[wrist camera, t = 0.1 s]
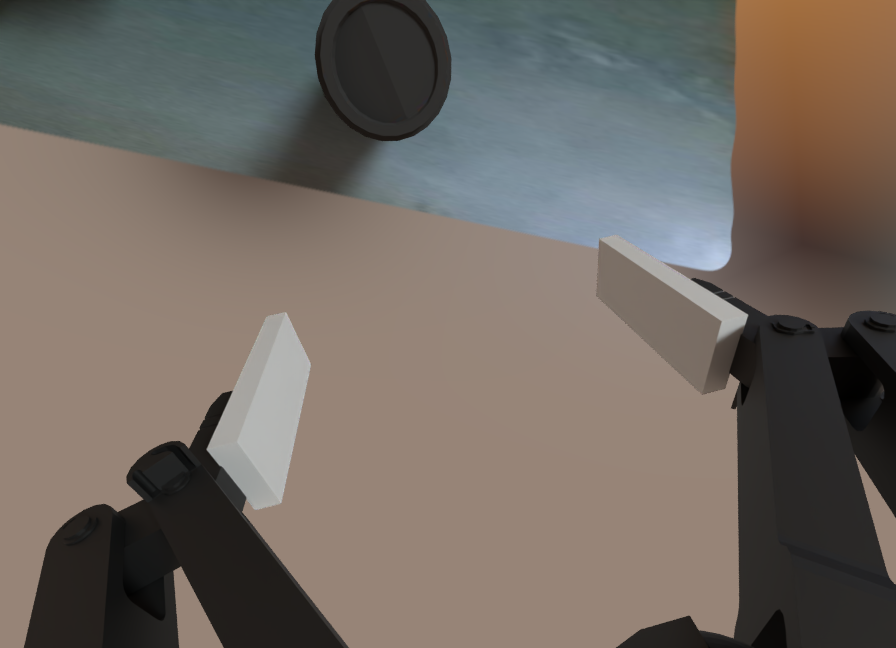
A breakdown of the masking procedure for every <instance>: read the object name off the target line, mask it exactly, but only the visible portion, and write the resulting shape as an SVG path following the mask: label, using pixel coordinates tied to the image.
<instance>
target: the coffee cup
mask: <svg viewBox="0 0 896 648" xmlns="http://www.w3.org/2000/svg"><path fill="white" fill-rule="evenodd" d="M315 60H316V67H317V74H318V79H319V82H320V84H321V87H322V89H323V92H324V95H325V97H326V99H327V100H328V102H329V104H330V105H331V107H332V108H333V110H334V111H335V113H336V114H337V115H338V116H339V117H340V118H341V119H342V120H343V121H344V122H345V123H346V124H347V125H348V126H349V127H350V128H352V129H354V130H355V131H357V132H359V133H360V134H362V135H364V136H366V137H369V138H373V139H376V140H380V141H399V140H402V139H405V138H409V137H412V136H414V135H416V134H417V133H419V132H420V131H422V130H423V129H425V128H426V127H428V125H429V124H430V123H431V122H432V121H433V120H434V118H435V117H436V116H437V115H438V114H439V112H440V110H441V108H442V106H443V104H444V102H445V100H446V98H447V94H448V89H449V85H450V81H451V54H450V49H449V45H448V40H447V36H446V34H445V31H444V29H443V27H442V25H441V23H440V20H439V18H438V16H437V15H436V14H435V12H434V11H433V10H432V8H431V7H430V6H429V4H428V3H427V2H426V1H425V0H332V2H331V3H330V5H329V6H328V7H327V9H326V10H325V12H324V13H323V16H322V19H321V22H320V25H319V28H318V31H317V35H316V47H315Z"/></svg>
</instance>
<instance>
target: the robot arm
mask: <svg viewBox="0 0 896 648" xmlns="http://www.w3.org/2000/svg"><path fill="white" fill-rule="evenodd" d="M597 275H598V276H597V293H596V296H597V297H598V298H599V299H600V300H601V301H602V302H603V303H604V304H606V305H607V306H608V307H609V308H610V309H611V310H612V311H613V312H614V313H615V314H616V315H617V316H618V317H620V318H621V319H622V320H623V321H624V322H625V323H626V324H627V325H628V326H629V327H630V328H631V329H632V330H633V331H634V332H636V333H637V334H638V335H639V336H640V337H641V338H642V339H643V340H644V341H645V342H646V343H647V344H648V345H649V346H650V347H652V348H653V349H654V350H655V351H656V352H657V353H658V354H659V355H660V356H661V357H662V358H663V359H664V360H665V361H666V362H668V363H669V364H670V365H671V366H672V367H673V368H674V369H675V370H676V371H677V372H678V373H679V374H681V376H683V377H684V378H685V379H686V380H687V381H688V382H689V383H690V384H691V385H692V386H694V388H695V389H696V390H697V391H699V392H700V393H701V394H702V395H703V394H707V393H711V392H714V391H718V390H722V389H725V388H726V384H727V381H728V378H729V374H731V375H733V376H734V377H735V378H736V379H738V380H739V381H740V383H739V386H738V389H737V392H736V395H735V398H734V401H733V404H732V407H731V408H732V409H736V407H737V430H738V431H737V438H738V521H739V522H738V523H739V525H738V526H739V527H738V528H739V611H738V617H737V622H736V626H735V633H734V639H733V638H730V637H727V636H724V635H721V634H716V633H711V632H706V631H699V630H698V629H697V627H696V625H695V624H694V622H693V620H692V619H691V617H690V616H686V617H683V618H679V619H676V620H673V621H669V622H666V623H662V624H659V625H655V626H652V627H648V628H645V629H641V630H639V631H638V632H636V633H635V634H634V635H633V636H631V637H630V638H628V639H627V640H626V641H625V642H623V643H622V644H620V645H619V646H618V647H616V648H896V584H894V583H893V582H892V581H891V580H890V578H889V576H888V573H887V571H886V567H885V563H884V560H883V556H882V552H881V549H880V545H879V541H878V538H877V534H876V530H875V527H874V523H873V520H872V516H871V513H870V509H869V505H868V501H867V498H866V494H865V490H864V487H863V483H862V480H861V476H860V472H859V469H858V465H857V461H856V458H855V455H856V457H857V458H858V460H859V461H860V463H861V465H862V466H863V468H864V469H865V471H866V472H867V474H868V475H869V477H870V479H871V480H872V482H873V483H874V485H875V486H876V488H877V489H878V491H879V493H880V494H881V496H882V497H883V499H884V500H885V502H886V503H887V505H888V506H889V508H890V509H891V511H892V513H893V514H894V516H895V517H896V315H895V314H891V313H887V312H881V311H878V312H877V311H860V312H856V313H853V314H851V315H850V316H849V318H848V320H847V322H846V324H845V326H844V327H838V328H818V327H817V326H816V325H814V324H812V323H811V322H809V321H807V320H804V319H801V318H799V317H793V316H789V315H773V316H767V315H765V314H763V313H761V312H760V311H758V310H756V309H755V308H752V307H751V306H749V305H747V304H746V303H744V302H743V301H741V300H739V299H737V298H736V297H735V298H733V296H732V295H731V294H729V293H727V292H723V290H722V289H720V288H718V287H717V286H715V285H713V284H712V283H709V282H706V281H703V280H699V279H696V278H692V279H689V278H687V277H685V276H683V275H682V274H680V273H679V272H677V271H675V270H674V269H672V268H671V267H669V266H667V265H666V264H664V263H662V262H661V261H659V260H657V259H656V258H654V257H652V256H651V255H649V254H647V253H646V252H644V251H643V250H641V249H639V248H638V247H636V246H634V245H633V244H631V243H629V242H628V241H626V240H624V239H623V238H621V237H620V236H618V235H614V236H609V237H605V238H601V239H599V254H598V273H597ZM310 367H311V363H310V361H309V359H308V357H307V355H306V353H305V351H304V349H303V347H302V345H301V343H300V340H299V338H298V337H297V334H296V332H295V330H294V328H293V326H292V324H291V322H290V320H289V317H288V315H287V313H286V312H284V313H280V314H275V315H271V316H267V317H266V320H265V321H264V324H263V326H262V328H261V330H260V333H259V335H258V337H257V339H256V341H255V344H254V346H253V348H252V350H251V353H250V355H249V357H248V359H247V361H246V364H245V366H244V368H243V370H242V373H241V375H240V377H239V379H238V381H237V383H236V386H235V388H234V390H233V391H230V392H225V393H222V394H221V395H220V396H219V397H218V398H217V399H216V401H215V402H214V403H213V404H212V405H211V406H210V408H209V410H208V412H207V414H206V416H205V420H203V422H202V424H201V426H200V430H199V431H198V432H197V434H196V436H195V438H194V440H193V442H192V444H191V446H190V448H189V449H188V447H187V446H186V445H185V444H184V443H182V442H180V441H171V442H167V443H164V444H161V445H159V446H157V447H155V448H153V449H152V450H150V451H148V452H147V453H146V454H144V455H143V456H142V457H141V458H139V459H138V460H137V462H136V463H135V464H134V465H133V466H132V467H131V469H130V470H129V473H128V474H127V484H128V485H129V486H130V487H131V488H132V489H134V490H135V491H136V492H137V493H138V494H139V495H140V496H141V497H142V498H143V499H144V500H142V501H140V502H138V503H136V504H134V505H131V506H130V507H127V508H125V509H123V510H121V511H119V512H117V511H115V510H114V509H113V508H112V507H111V506H108V505H106V504H101V505H95V506H92V507H90V508H88V509H86V510H83V511H82V512H80V513H78V514H77V515H75V516H74V517H72V518H71V519H70V520H68V521H67V522H66V523H65V524H64V525H63V526H62V527H61V528H60V529H59V530H58V531H57V532H56V533H55V535H54V536H53V537H52V539H51V540H50V542H49V544H48V546H47V549H46V553H45V557H44V561H43V566H42V570H41V575H40V580H39V584H38V588H37V592H36V597H35V601H34V605H33V610H32V614H31V619H30V623H29V628H28V632H27V637H26V641H25V645H24V648H179V642H178V628H177V614H176V601H175V588H174V574H173V570H175V569H177V568H179V567H180V566H181V567H182V569H183V571H184V573H185V575H186V577H187V579H188V580H189V582H190V584H191V586H192V588H193V590H194V592H195V594H196V596H197V598H198V599H199V601H200V603H201V605H202V607H203V609H204V611H205V613H206V615H207V616H208V618H209V620H210V622H211V624H212V626H213V628H214V630H215V632H216V634H217V636H218V637H219V639H220V641H221V643H222V645H223V647H224V648H348V646H347V645H346V643H345V642H344V641H343V640H342V638H341V637H340V636H339V635H338V633H337V632H336V631H335V630H334V628H333V627H332V626H331V624H330V623H329V622H328V621H327V620H326V618H325V617H324V615H323V614H322V613H321V612H320V611H319V609H318V608H317V607H316V606H315V604H314V603H313V601H312V600H311V599H310V598H309V596H308V595H307V594H306V593H305V591H304V590H303V589H302V588H301V586H300V585H299V584H298V582H297V581H296V580H295V579H294V577H293V576H292V575H291V573H289V571H288V570H287V568H286V567H285V566H284V565H283V564H282V562H281V561H280V560H279V558H278V557H277V556H276V554H275V553H274V552H273V551H272V549H271V548H270V547H269V546H268V544H267V543H266V542H265V540H264V539H263V538H262V537H261V535H260V534H259V533H258V532H257V530H256V529H255V528H254V526H253V525H252V524H251V523H250V521H249V520H248V519H247V518H246V516H245V515H244V514H243V513H242V511H243V507H244V504H245V501H246V499H247V501H248V502H249V503H250V504H251V506H252V507H253V508H254V509H255V510H258V509H261V508H265V507H269V506H273V505H277V504H281V502H282V498H283V493H284V488H285V483H286V479H287V474H288V470H289V465H290V460H291V456H292V451H293V446H294V442H295V437H296V432H297V428H298V423H299V419H300V414H301V409H302V404H303V400H304V395H305V391H306V386H307V381H308V377H309V372H310Z"/></svg>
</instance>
